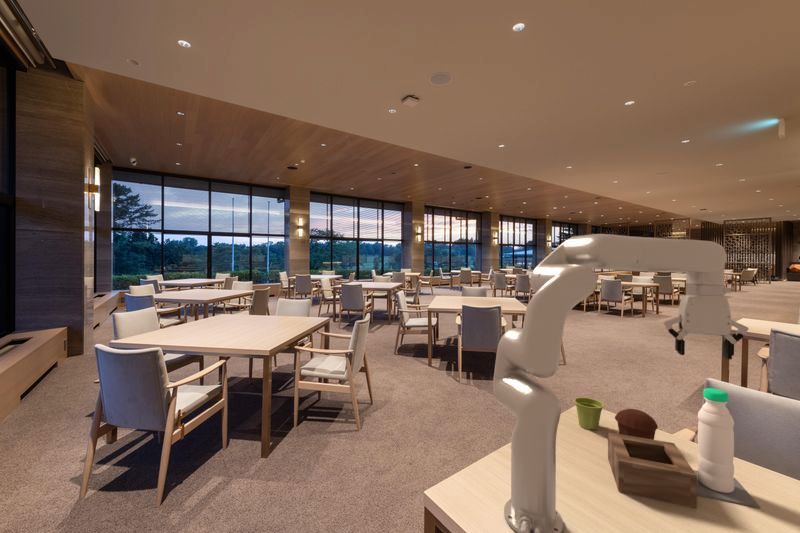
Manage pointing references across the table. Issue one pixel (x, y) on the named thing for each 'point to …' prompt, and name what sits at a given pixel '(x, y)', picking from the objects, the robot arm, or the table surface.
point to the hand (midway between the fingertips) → (703, 356)
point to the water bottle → (716, 442)
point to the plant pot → (588, 412)
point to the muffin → (636, 423)
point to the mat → (727, 494)
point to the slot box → (652, 470)
